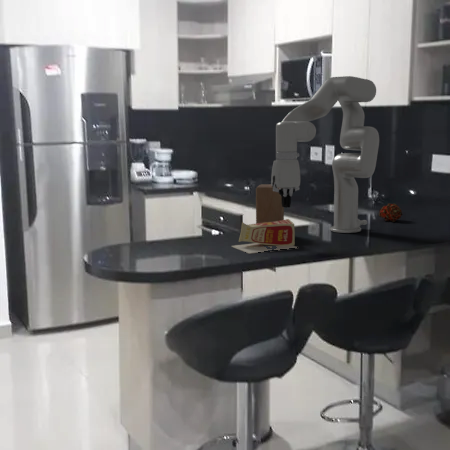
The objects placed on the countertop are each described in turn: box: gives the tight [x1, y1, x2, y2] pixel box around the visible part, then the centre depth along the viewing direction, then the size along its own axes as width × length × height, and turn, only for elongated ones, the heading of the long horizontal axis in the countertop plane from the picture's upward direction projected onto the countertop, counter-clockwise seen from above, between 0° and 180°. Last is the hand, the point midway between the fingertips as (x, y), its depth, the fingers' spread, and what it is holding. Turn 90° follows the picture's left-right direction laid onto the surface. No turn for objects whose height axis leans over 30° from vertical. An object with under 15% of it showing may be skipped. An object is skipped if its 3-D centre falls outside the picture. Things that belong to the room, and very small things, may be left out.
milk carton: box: [238, 218, 296, 246], centre depth 236 cm, size 9×9×20 cm
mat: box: [231, 242, 298, 255], centre depth 234 cm, size 20×14×1 cm
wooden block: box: [255, 183, 285, 224], centre depth 255 cm, size 10×10×20 cm
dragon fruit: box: [378, 203, 404, 222], centre depth 286 cm, size 8×8×12 cm
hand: (286, 206), depth 235 cm, fingers closed
